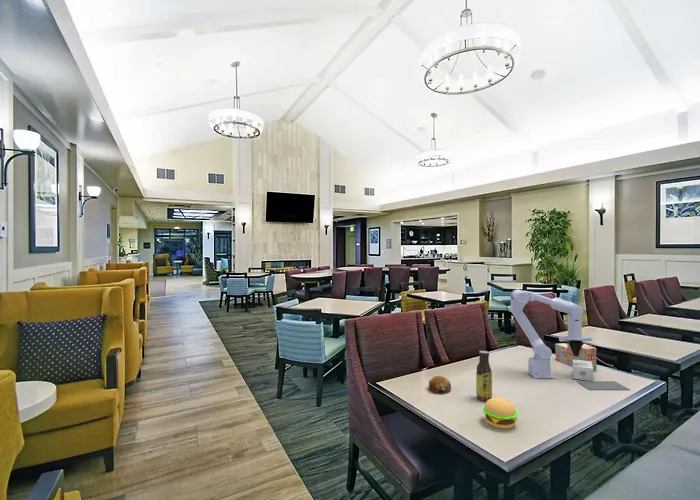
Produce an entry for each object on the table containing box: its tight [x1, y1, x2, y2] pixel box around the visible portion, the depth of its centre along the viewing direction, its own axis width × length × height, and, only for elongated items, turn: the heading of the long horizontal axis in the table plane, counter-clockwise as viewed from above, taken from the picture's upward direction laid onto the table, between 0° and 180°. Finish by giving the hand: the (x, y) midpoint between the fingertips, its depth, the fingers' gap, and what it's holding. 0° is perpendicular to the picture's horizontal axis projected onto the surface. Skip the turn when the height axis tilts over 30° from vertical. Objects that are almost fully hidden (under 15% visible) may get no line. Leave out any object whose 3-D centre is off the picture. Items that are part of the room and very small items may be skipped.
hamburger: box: [482, 397, 519, 430], centre depth 126 cm, size 12×12×9 cm
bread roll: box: [428, 375, 452, 395], centre depth 158 cm, size 10×10×8 cm
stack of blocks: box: [554, 342, 598, 373], centre depth 187 cm, size 21×6×12 cm, turn 9°
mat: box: [575, 380, 631, 391], centre depth 158 cm, size 18×10×1 cm, turn 86°
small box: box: [572, 360, 595, 382], centre depth 170 cm, size 8×6×13 cm
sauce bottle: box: [475, 350, 493, 402], centre depth 147 cm, size 6×6×20 cm
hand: (575, 355), depth 169 cm, fingers closed
